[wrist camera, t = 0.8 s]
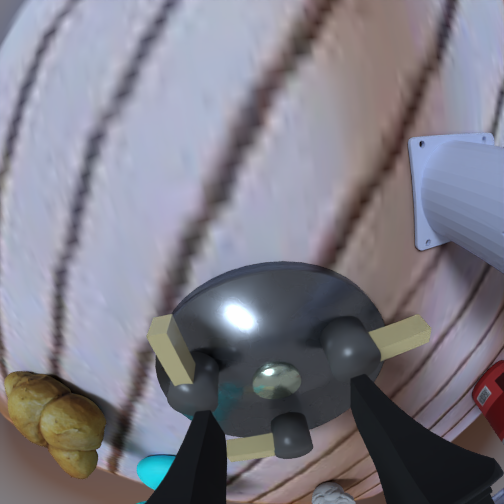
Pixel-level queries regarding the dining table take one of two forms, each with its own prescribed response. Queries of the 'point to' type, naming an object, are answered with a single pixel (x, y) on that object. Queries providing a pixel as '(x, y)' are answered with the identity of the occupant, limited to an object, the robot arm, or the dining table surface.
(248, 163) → the dining table surface
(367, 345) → the knob near arm
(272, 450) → the grey knob khaki handle
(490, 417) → the canned food
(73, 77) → the dining table surface
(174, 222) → the dining table surface
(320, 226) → the dining table surface
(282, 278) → the tribrach plate
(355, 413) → the robot arm
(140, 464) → the donuts
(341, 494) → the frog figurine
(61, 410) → the bread roll
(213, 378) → the grey and khaki peg
